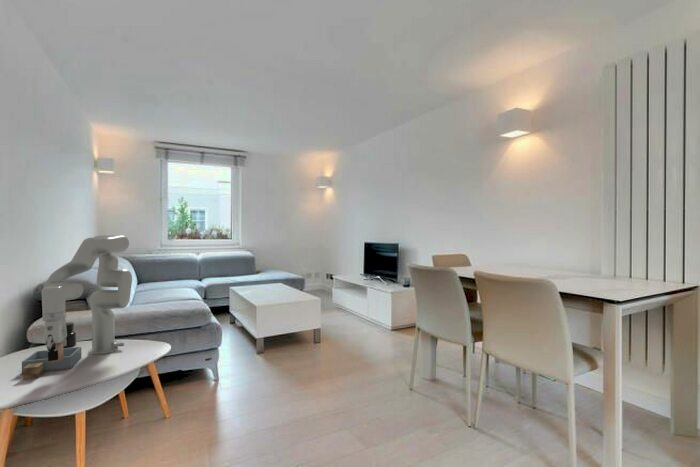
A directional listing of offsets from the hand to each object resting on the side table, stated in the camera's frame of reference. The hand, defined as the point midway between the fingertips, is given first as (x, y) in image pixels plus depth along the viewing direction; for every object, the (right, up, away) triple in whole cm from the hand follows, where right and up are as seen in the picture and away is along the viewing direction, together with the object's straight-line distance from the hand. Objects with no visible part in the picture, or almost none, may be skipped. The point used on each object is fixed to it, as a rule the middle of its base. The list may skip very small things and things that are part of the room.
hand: (56, 357), depth 149 cm
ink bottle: (-29, -9, +41) cm, 51 cm away
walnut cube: (-11, -9, +1) cm, 14 cm away
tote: (-12, -9, +13) cm, 20 cm away
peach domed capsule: (0, -1, 0) cm, 1 cm away
